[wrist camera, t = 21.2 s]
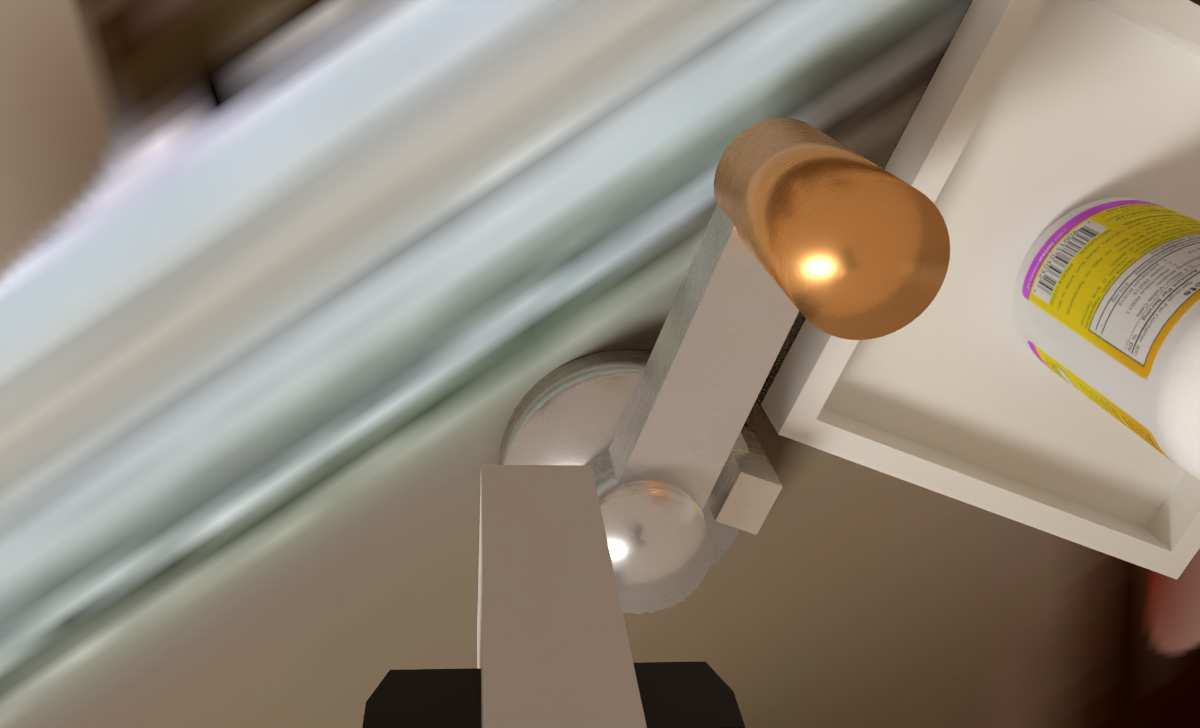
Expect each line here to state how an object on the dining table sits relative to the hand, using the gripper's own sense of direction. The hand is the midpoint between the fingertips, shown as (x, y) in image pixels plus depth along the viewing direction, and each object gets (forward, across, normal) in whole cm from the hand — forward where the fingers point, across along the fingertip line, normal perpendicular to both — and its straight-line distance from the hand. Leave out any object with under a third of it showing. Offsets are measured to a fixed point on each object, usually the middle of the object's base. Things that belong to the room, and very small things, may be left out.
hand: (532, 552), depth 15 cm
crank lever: (+19, +7, -5) cm, 21 cm away
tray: (+22, +21, -2) cm, 31 cm away
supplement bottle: (+22, +21, -2) cm, 31 cm away
